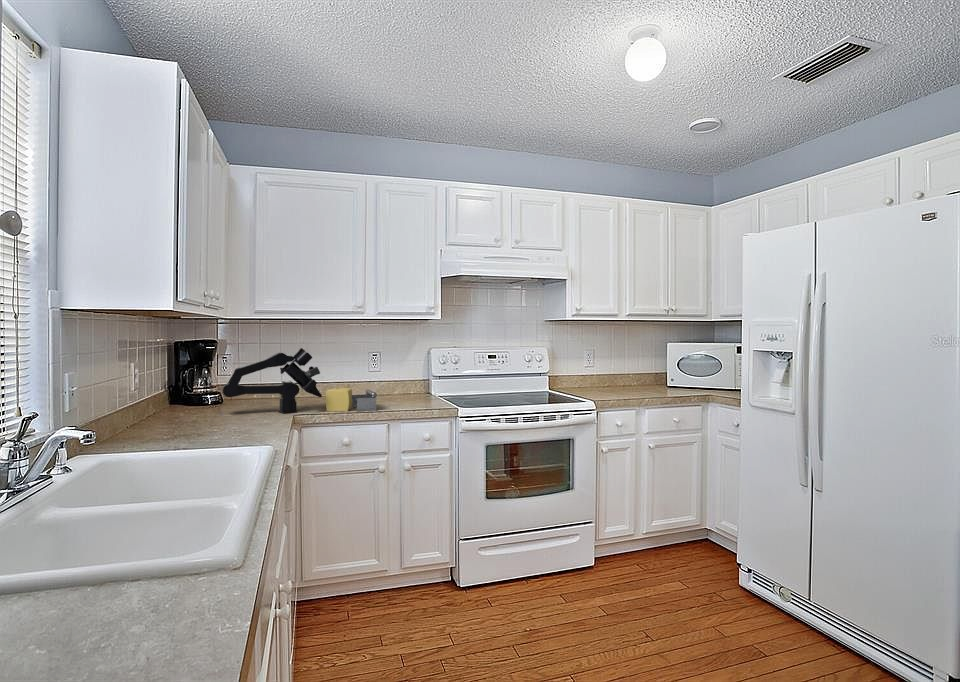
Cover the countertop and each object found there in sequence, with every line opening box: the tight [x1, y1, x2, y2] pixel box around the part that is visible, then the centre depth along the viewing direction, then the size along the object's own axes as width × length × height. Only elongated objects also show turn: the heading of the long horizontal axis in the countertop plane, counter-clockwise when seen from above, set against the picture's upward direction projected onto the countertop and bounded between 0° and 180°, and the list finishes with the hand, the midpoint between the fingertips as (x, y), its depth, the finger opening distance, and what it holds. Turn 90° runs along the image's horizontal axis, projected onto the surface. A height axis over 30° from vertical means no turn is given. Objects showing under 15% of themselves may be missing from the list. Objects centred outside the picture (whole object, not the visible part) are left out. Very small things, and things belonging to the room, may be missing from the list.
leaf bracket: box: [352, 389, 378, 412], centre depth 282 cm, size 10×17×8 cm, turn 23°
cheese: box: [325, 387, 353, 412], centre depth 278 cm, size 10×11×10 cm
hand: (321, 396), depth 274 cm, fingers closed
